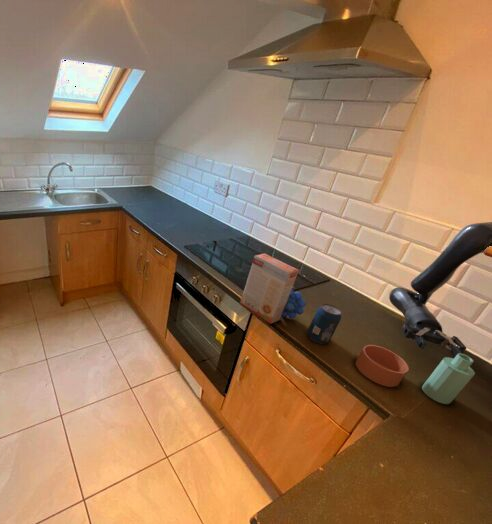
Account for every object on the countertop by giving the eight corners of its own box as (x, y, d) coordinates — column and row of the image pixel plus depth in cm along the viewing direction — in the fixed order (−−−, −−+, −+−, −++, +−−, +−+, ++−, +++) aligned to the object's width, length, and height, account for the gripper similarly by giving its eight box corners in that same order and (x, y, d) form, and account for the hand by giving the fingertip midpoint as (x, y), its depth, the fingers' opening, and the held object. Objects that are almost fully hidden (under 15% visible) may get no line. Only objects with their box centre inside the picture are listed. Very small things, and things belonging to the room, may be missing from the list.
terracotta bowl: (373, 356, 96) (381, 343, 93) (408, 383, 86) (418, 370, 84) (347, 360, 93) (354, 347, 90) (380, 389, 83) (390, 375, 81)
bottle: (431, 383, 87) (459, 347, 81) (455, 402, 82) (487, 365, 76) (416, 387, 86) (444, 350, 79) (440, 405, 80) (472, 368, 74)
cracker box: (280, 320, 108) (300, 269, 98) (269, 325, 105) (289, 273, 95) (249, 299, 118) (265, 252, 108) (239, 303, 115) (254, 254, 105)
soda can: (314, 329, 105) (327, 300, 100) (333, 341, 100) (348, 312, 95) (301, 334, 102) (315, 305, 96) (320, 347, 97) (335, 317, 91)
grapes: (268, 319, 107) (278, 291, 102) (265, 309, 113) (275, 282, 108) (302, 327, 105) (314, 299, 100) (298, 316, 111) (309, 289, 106)
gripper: (402, 306, 101) (418, 333, 88) (454, 320, 96) (480, 351, 83) (391, 323, 104) (405, 352, 91) (441, 338, 100) (464, 371, 86)
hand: (441, 352), depth 87 cm, fingers open, 8 cm apart
